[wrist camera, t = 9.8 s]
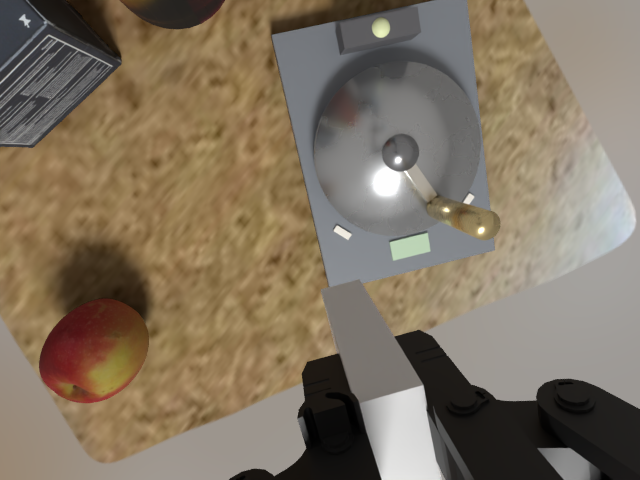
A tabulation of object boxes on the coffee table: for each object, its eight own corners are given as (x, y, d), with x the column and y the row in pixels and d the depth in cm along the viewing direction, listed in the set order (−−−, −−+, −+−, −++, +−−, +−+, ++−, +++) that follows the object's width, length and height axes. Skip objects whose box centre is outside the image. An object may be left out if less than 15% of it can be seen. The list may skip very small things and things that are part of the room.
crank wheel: (377, 263, 36) (411, 303, 27) (278, 137, 32) (280, 134, 23) (503, 166, 35) (581, 173, 26) (415, 26, 31) (471, -22, 22)
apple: (52, 318, 36) (-11, 366, 28) (127, 272, 35) (86, 308, 28) (106, 380, 37) (62, 441, 30) (178, 337, 37) (152, 387, 30)
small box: (60, -9, 30) (-51, -88, 20) (126, 62, 32) (55, 23, 21) (-36, 85, 31) (-191, 56, 21) (33, 151, 32) (-79, 153, 22)
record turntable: (271, 39, 32) (271, 24, 28) (457, 0, 33) (482, -20, 29) (328, 285, 38) (334, 302, 34) (486, 246, 39) (510, 257, 35)
